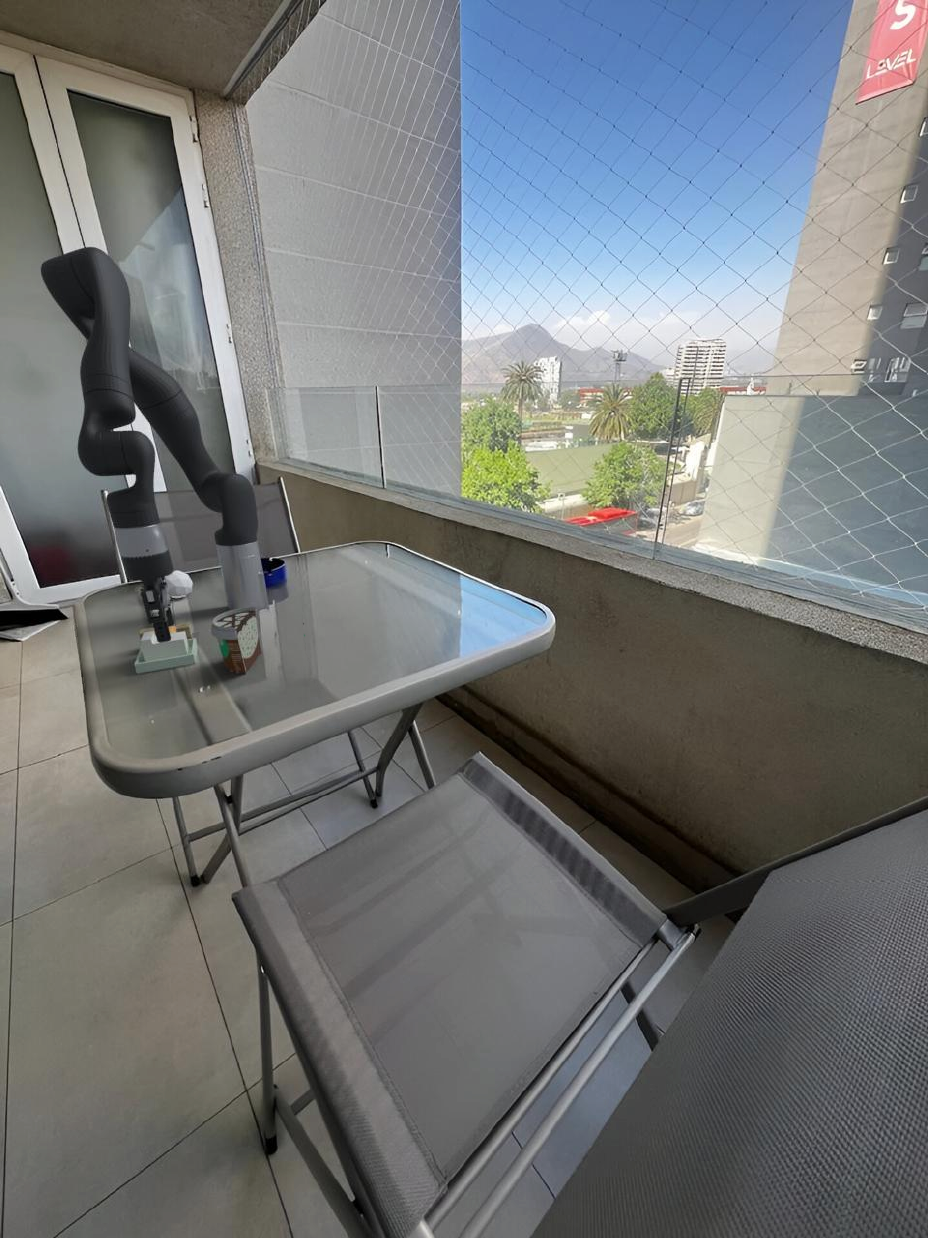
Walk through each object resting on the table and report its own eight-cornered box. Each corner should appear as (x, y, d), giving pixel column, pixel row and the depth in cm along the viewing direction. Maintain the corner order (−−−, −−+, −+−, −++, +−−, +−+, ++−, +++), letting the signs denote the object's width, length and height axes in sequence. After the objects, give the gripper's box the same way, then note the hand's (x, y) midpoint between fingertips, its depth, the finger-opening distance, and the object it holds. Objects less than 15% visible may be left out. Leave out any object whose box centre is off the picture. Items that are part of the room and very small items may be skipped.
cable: (179, 633, 108) (176, 623, 107) (175, 648, 100) (173, 637, 99) (166, 635, 107) (164, 625, 106) (162, 650, 99) (159, 639, 98)
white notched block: (189, 649, 98) (184, 626, 97) (188, 658, 95) (182, 634, 93) (149, 656, 96) (143, 632, 94) (146, 665, 92) (139, 640, 90)
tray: (197, 646, 101) (195, 638, 100) (195, 663, 93) (193, 654, 93) (143, 655, 97) (141, 646, 96) (137, 673, 89) (134, 664, 89)
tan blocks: (194, 639, 104) (189, 622, 103) (193, 644, 102) (189, 626, 100) (146, 647, 101) (141, 629, 99) (144, 652, 98) (139, 634, 97)
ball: (190, 606, 135) (202, 584, 133) (160, 604, 128) (172, 580, 126) (179, 588, 138) (191, 566, 136) (149, 585, 131) (161, 562, 129)
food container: (233, 653, 99) (224, 606, 95) (264, 651, 99) (256, 605, 96) (209, 682, 87) (197, 630, 84) (244, 680, 88) (234, 628, 84)
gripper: (165, 555, 83) (187, 642, 89) (170, 540, 95) (190, 618, 101) (112, 561, 80) (139, 651, 86) (125, 544, 92) (148, 624, 98)
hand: (166, 633), depth 93 cm, fingers open, 8 cm apart
